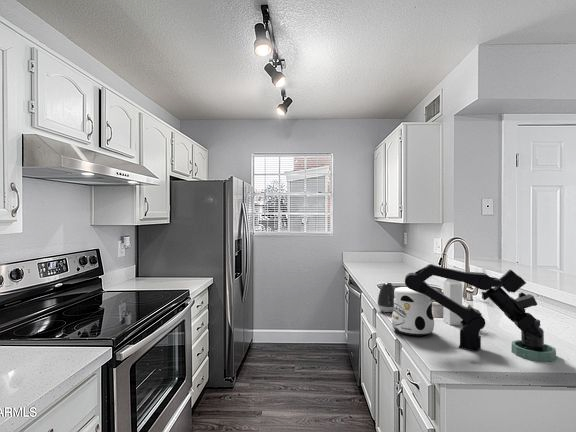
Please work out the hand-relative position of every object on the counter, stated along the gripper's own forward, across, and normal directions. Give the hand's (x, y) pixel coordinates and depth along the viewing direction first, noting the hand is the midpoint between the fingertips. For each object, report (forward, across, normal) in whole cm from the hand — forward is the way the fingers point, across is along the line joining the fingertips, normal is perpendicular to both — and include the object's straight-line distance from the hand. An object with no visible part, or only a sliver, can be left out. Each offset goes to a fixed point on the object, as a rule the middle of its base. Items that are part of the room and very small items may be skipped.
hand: (537, 334), depth 132 cm
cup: (+4, 0, +6) cm, 8 cm away
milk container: (-24, +13, +36) cm, 45 cm away
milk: (-12, +34, +23) cm, 43 cm away
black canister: (-33, +46, +44) cm, 71 cm away
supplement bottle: (+4, 0, +6) cm, 7 cm away
